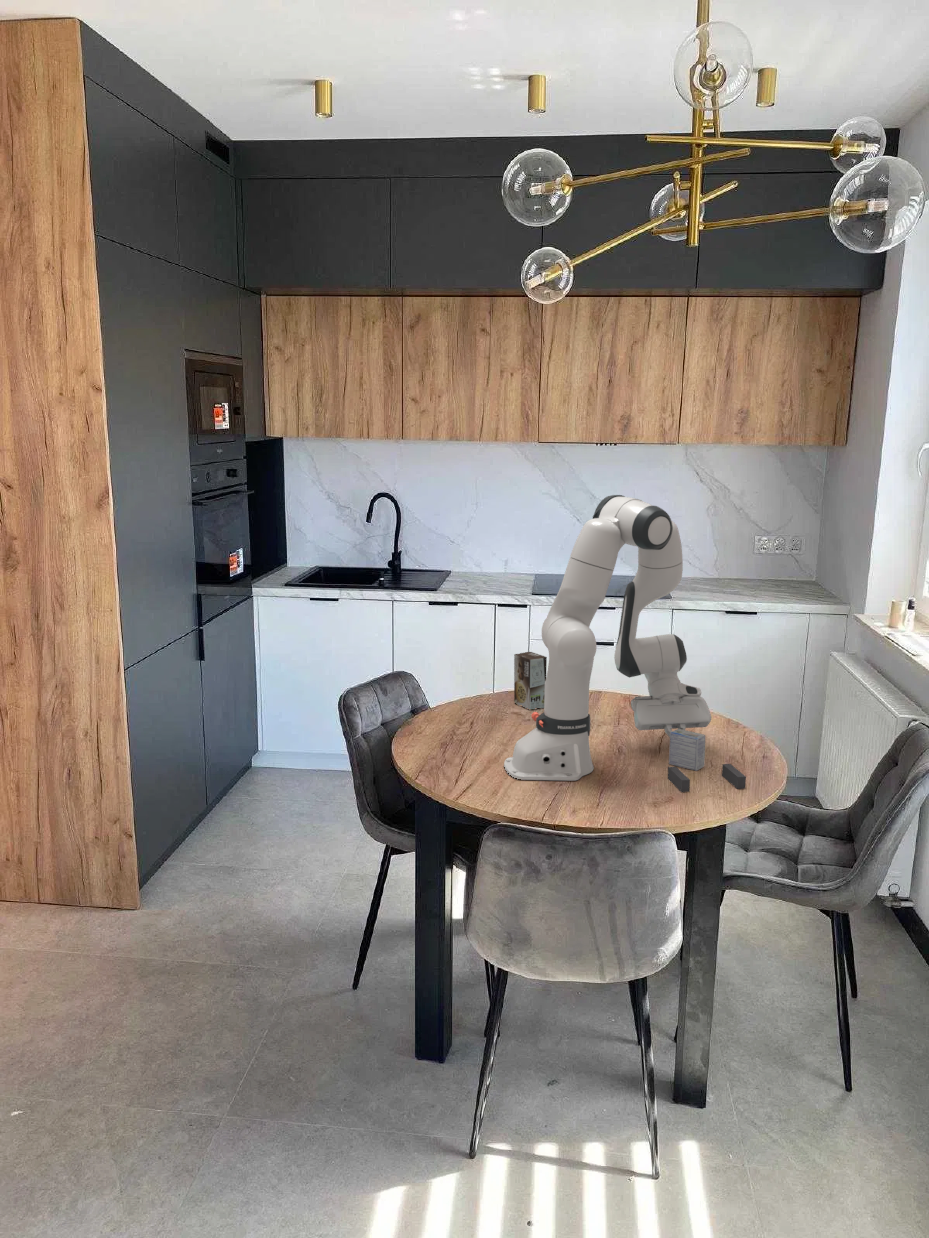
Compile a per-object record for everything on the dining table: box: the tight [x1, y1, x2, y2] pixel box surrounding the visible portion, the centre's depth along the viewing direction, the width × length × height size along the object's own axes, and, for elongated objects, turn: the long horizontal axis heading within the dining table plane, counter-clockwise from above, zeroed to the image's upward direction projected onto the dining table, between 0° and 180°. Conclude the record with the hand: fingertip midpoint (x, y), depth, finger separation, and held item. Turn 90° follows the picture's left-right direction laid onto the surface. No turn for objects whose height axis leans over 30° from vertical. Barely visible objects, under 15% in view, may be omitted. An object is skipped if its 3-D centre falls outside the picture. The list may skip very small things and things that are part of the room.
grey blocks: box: [667, 763, 747, 793], centre depth 227 cm, size 16×9×3 cm, turn 98°
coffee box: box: [513, 651, 548, 710], centre depth 290 cm, size 9×6×16 cm
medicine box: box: [668, 728, 706, 772], centre depth 238 cm, size 8×4×9 cm, turn 49°
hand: (678, 742), depth 244 cm, fingers closed
